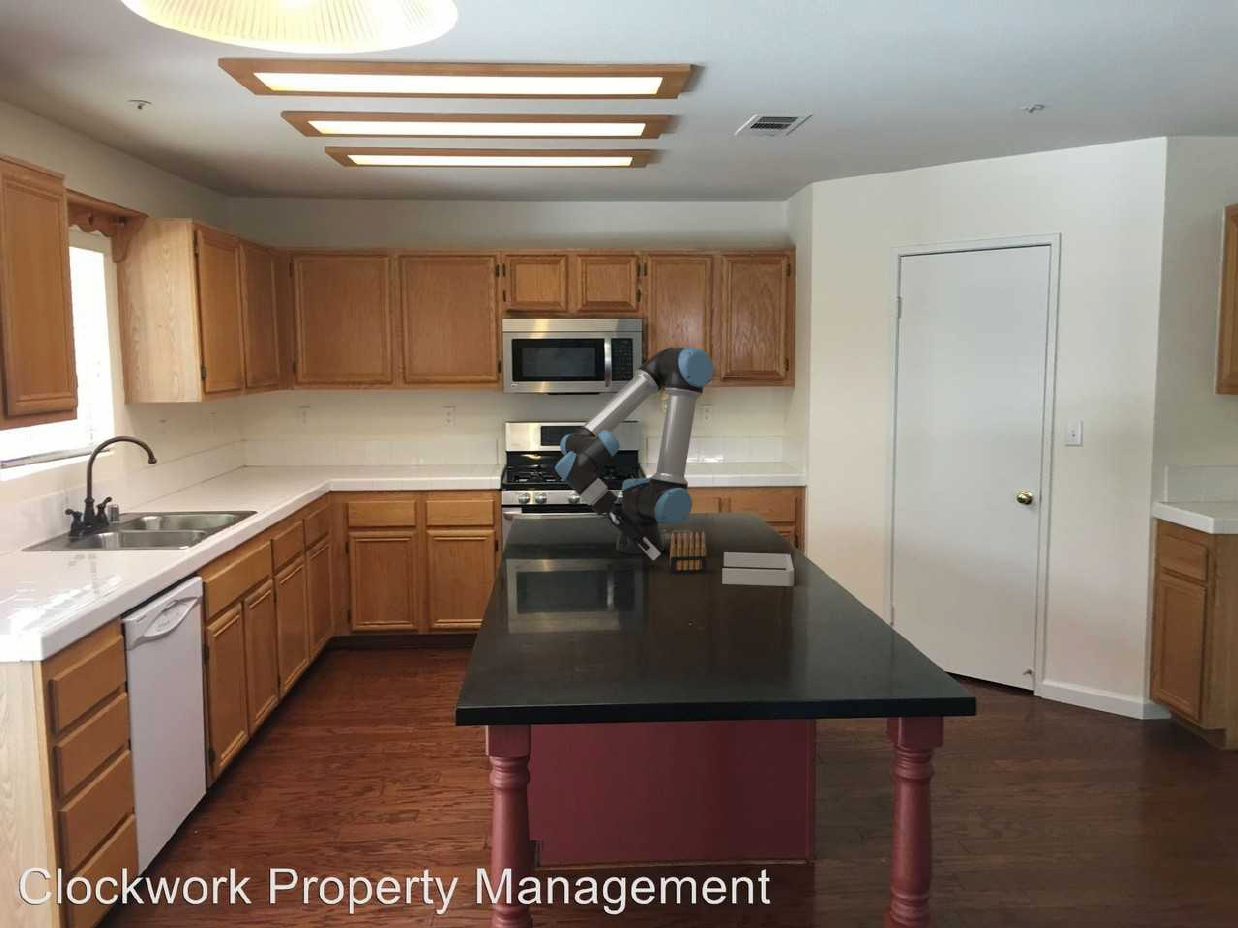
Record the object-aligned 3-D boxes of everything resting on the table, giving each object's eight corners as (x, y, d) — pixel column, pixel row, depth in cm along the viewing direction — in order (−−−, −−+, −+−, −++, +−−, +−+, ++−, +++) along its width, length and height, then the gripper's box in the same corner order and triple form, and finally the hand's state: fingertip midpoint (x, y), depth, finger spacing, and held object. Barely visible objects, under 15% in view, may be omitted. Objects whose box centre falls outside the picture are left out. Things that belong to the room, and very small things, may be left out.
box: (723, 565, 273) (724, 552, 273) (789, 567, 271) (790, 554, 270) (722, 583, 251) (722, 569, 251) (793, 586, 249) (794, 571, 248)
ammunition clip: (705, 571, 265) (705, 530, 264) (706, 573, 263) (707, 531, 262) (668, 573, 264) (669, 531, 262) (670, 574, 262) (670, 532, 260)
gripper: (594, 503, 271) (650, 560, 271) (586, 510, 258) (645, 570, 258) (611, 485, 270) (668, 543, 270) (605, 492, 257) (664, 552, 257)
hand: (657, 556), depth 264 cm, fingers closed
